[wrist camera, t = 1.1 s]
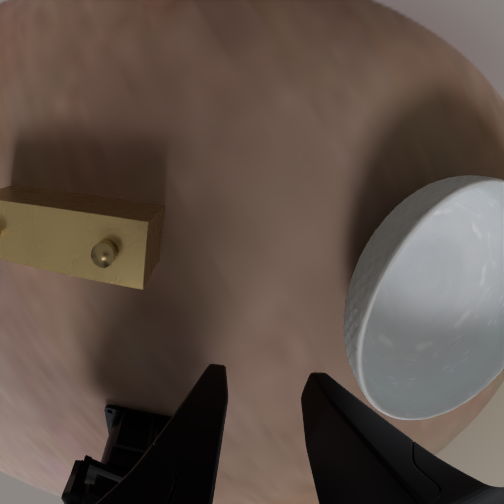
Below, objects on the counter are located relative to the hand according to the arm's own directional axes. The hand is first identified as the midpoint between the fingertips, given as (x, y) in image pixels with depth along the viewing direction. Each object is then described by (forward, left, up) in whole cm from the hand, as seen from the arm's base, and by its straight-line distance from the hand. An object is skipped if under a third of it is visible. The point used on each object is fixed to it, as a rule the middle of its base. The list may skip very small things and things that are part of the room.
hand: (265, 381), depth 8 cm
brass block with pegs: (0, +11, -12) cm, 17 cm away
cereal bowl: (0, -14, -12) cm, 19 cm away
